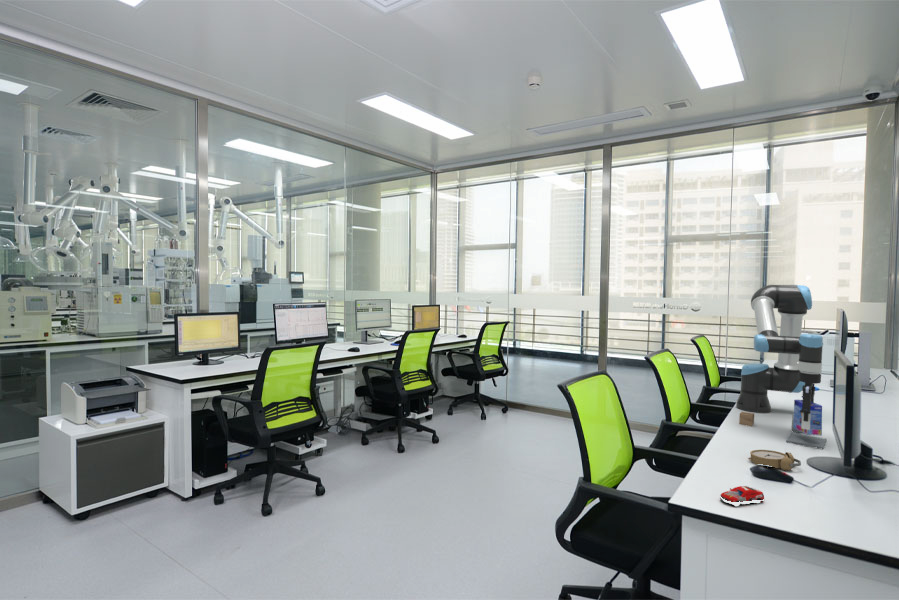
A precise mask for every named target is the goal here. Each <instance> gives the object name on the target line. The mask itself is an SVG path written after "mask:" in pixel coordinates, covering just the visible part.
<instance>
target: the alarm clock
mask: <svg viewBox="0 0 899 600" xmlns="http://www.w3.org/2000/svg"><path fill="white" fill-rule="evenodd" d="M749 453H750V457H747V459H748V460H750V462H751V461H752V462H754V463H755V465H756V464H763V465H769V466H772V467H775V468H774V469H781V470H783V471H785V472H788V471H790V470H791V469H792V468H793V467H800V466H801V465H802V461H801V460H800V459H796V457H794V455H793V454H792V453H791V452H785V453H783V452H780V451H776V450H770V449H754V450H750V452H749ZM795 462H796V463H795ZM754 463H753V464H754Z"/></svg>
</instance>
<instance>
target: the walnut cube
mask: <svg viewBox="0 0 899 600" xmlns="http://www.w3.org/2000/svg"><path fill="white" fill-rule="evenodd" d="M738 420H739V421H738V422H739V423H738V424H739V425H741V426H746V425H747V426H748V427H753V426H754V425H755V412H753V413H752V412H749V411H748V412H747V411H740V413H739V418H738Z"/></svg>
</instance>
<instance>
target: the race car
mask: <svg viewBox="0 0 899 600" xmlns="http://www.w3.org/2000/svg"><path fill="white" fill-rule="evenodd" d="M720 496H721V497H722V498H723V499H725V500H727V501H731V502H739V501H740V502H743V501H752V500H763V499H764V500H765V495H764V493H763V491H761V490H759V489H757V488H754V487H750V486H747V485H742V486H741V485H740V486H736V487H733V488H729V490H727V491H724V492H722V493H721V494H720Z"/></svg>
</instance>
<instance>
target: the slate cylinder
mask: <svg viewBox="0 0 899 600" xmlns="http://www.w3.org/2000/svg"><path fill="white" fill-rule="evenodd" d="M791 430H792V431H793V432H792V431H791V432H792V433H795V432H796V434H800V433H803V432H801V431H799V430H797V429H795V428H794V414H792V415H791Z"/></svg>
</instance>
